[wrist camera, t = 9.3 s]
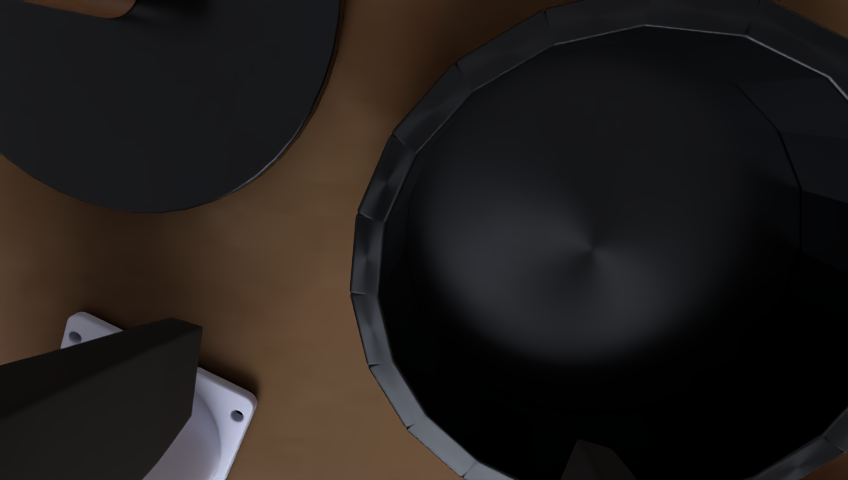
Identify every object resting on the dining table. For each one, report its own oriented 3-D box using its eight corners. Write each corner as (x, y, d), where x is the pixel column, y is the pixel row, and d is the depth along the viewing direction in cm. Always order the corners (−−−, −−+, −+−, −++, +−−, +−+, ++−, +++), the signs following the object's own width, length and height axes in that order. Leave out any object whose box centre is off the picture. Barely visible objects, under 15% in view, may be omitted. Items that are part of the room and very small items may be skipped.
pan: (657, 481, 18) (709, 598, 14) (328, 321, 18) (278, 390, 14) (925, 147, 14) (1115, 168, 10) (500, -62, 14) (504, -133, 10)
